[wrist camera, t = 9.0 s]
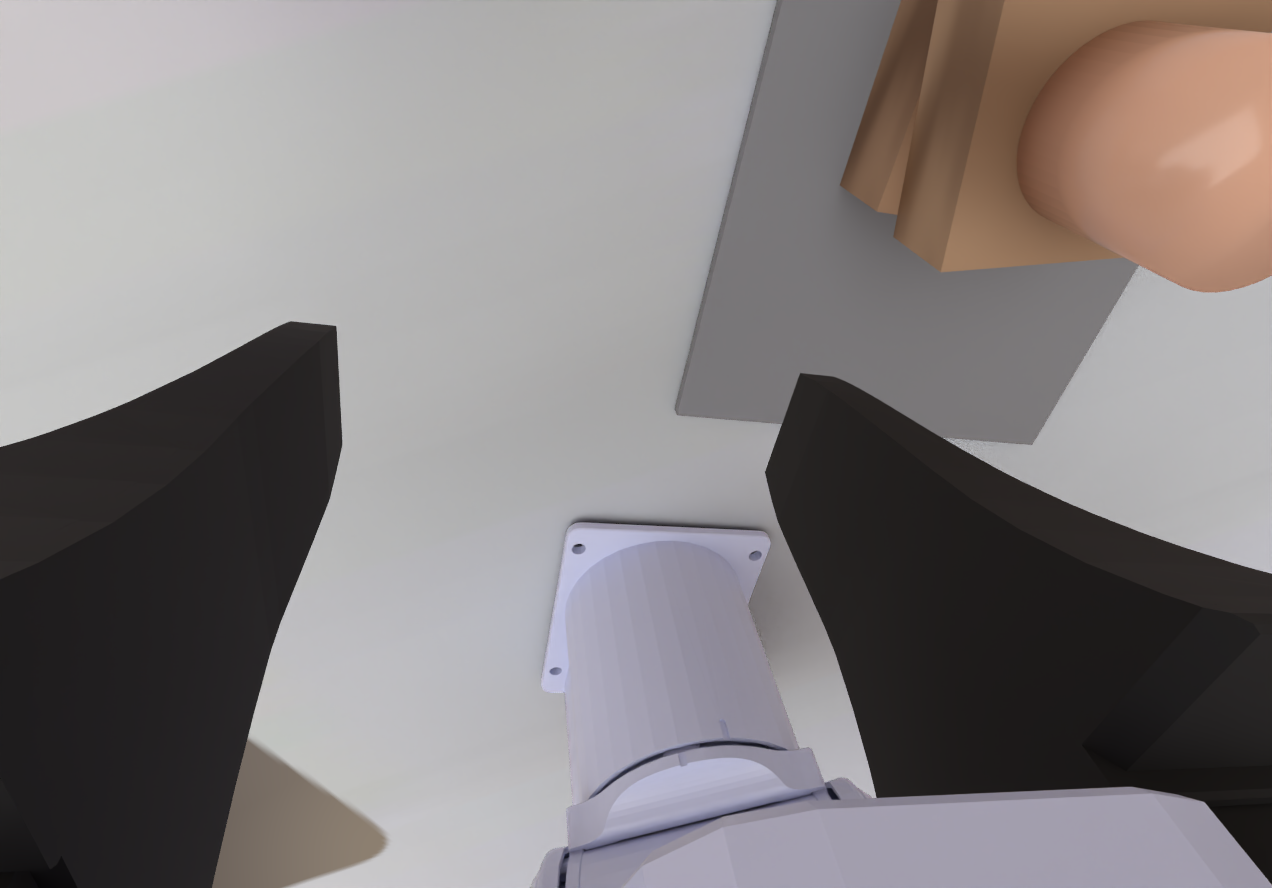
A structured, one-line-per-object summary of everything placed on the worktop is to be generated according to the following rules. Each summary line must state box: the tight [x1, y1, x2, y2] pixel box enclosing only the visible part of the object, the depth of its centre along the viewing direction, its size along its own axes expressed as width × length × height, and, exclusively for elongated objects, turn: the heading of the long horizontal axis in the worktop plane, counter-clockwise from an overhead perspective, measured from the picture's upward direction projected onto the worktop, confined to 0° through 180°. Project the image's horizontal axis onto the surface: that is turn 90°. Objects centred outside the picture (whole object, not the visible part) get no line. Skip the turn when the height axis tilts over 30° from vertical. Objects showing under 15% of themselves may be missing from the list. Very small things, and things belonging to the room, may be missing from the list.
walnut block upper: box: [893, 0, 1272, 272], centre depth 16 cm, size 6×6×2 cm
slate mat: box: [675, 0, 1272, 445], centre depth 21 cm, size 16×14×1 cm
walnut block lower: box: [840, 0, 938, 215], centre depth 18 cm, size 6×6×2 cm
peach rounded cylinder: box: [1017, 20, 1272, 292], centre depth 13 cm, size 4×4×4 cm
